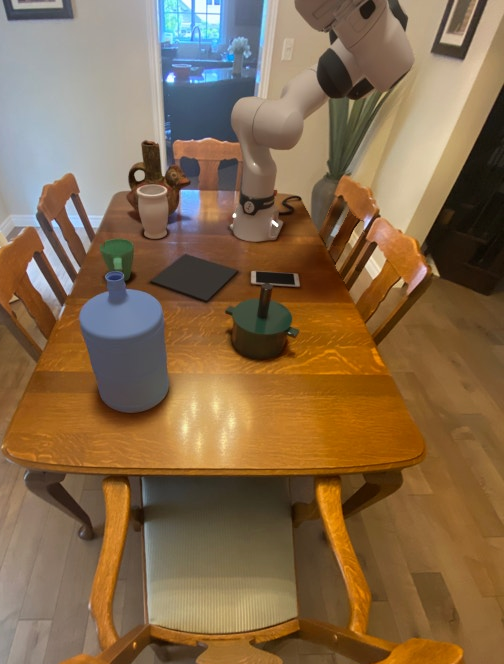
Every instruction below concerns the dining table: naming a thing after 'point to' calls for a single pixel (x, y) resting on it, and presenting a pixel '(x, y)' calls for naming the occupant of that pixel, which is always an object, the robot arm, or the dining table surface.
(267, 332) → the lid
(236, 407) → the dining table surface
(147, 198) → the jar
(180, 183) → the ceramic vessel
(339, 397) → the dining table surface
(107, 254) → the mug
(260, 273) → the smartphone
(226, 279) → the mat
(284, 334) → the pot
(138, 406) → the water jug
